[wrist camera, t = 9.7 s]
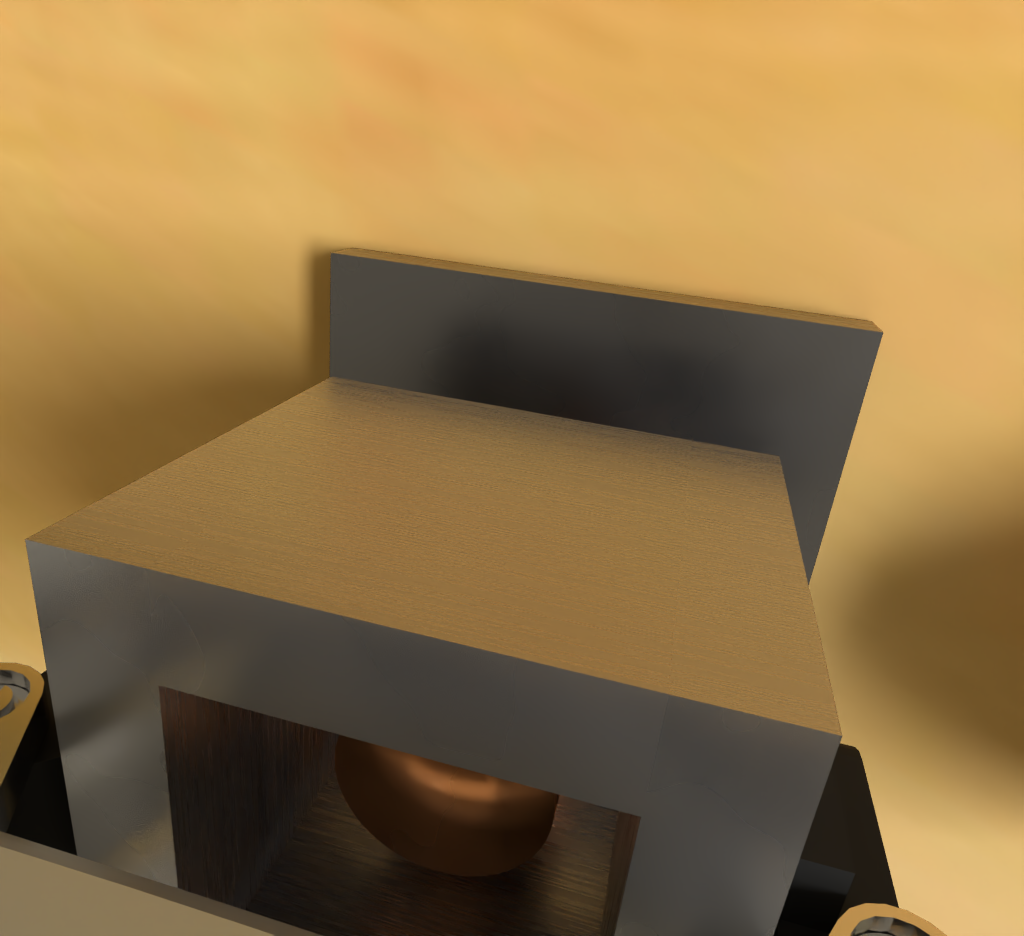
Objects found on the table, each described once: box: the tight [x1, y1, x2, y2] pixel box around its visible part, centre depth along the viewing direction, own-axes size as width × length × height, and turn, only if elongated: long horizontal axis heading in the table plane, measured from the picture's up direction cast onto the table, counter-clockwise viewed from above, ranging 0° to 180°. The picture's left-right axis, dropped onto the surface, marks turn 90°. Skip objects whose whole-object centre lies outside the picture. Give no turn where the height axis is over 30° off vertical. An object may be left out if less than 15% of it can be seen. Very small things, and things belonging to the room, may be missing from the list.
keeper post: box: [330, 248, 883, 876], centre depth 13 cm, size 10×10×8 cm
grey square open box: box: [25, 377, 842, 936], centre depth 10 cm, size 7×7×6 cm
